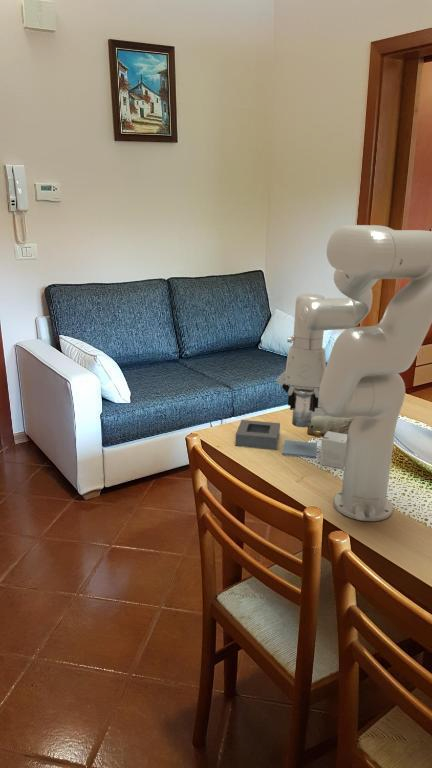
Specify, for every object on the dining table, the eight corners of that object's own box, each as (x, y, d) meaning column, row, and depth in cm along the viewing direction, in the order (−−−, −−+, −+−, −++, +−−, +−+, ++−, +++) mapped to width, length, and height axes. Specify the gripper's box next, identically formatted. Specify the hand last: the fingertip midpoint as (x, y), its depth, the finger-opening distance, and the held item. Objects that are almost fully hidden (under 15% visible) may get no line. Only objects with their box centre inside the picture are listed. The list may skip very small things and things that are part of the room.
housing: (276, 449, 152) (276, 437, 151) (235, 445, 154) (235, 434, 153) (279, 434, 163) (280, 423, 162) (241, 430, 165) (241, 419, 164)
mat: (316, 458, 148) (316, 456, 147) (282, 454, 149) (282, 452, 149) (317, 444, 156) (317, 442, 156) (284, 441, 158) (284, 439, 157)
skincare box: (348, 460, 147) (350, 434, 145) (342, 469, 142) (345, 442, 139) (325, 456, 149) (327, 430, 147) (319, 464, 144) (321, 438, 142)
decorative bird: (307, 430, 166) (309, 406, 164) (363, 437, 163) (365, 412, 160) (305, 437, 161) (307, 412, 159) (362, 444, 158) (365, 419, 155)
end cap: (312, 429, 147) (315, 393, 144) (289, 426, 148) (291, 391, 145) (312, 420, 153) (315, 386, 150) (290, 418, 154) (293, 384, 151)
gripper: (273, 343, 142) (269, 411, 147) (342, 348, 139) (335, 417, 144) (275, 337, 149) (271, 401, 154) (341, 341, 146) (335, 407, 151)
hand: (302, 408), depth 149 cm, fingers closed on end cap, 5 cm apart
